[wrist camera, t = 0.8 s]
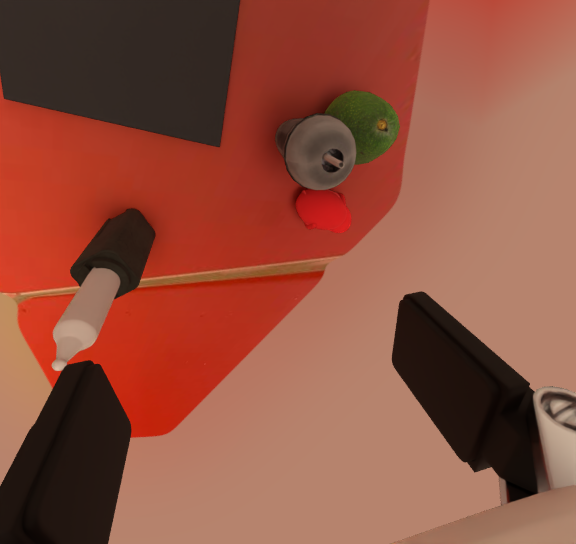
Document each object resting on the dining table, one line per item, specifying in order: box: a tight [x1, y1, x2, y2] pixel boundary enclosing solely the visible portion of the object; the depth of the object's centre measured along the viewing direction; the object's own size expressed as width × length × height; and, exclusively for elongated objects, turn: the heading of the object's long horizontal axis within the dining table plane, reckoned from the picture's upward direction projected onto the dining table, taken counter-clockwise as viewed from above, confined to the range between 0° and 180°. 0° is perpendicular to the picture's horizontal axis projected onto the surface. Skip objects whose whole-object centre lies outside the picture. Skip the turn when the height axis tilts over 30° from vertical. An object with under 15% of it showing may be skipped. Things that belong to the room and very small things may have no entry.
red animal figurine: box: [296, 189, 351, 233], centre depth 44 cm, size 8×6×6 cm
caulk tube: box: [52, 209, 155, 371], centre depth 31 cm, size 5×5×25 cm
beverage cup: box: [275, 113, 356, 190], centre depth 33 cm, size 7×7×20 cm
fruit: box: [324, 90, 400, 165], centre depth 36 cm, size 8×8×12 cm
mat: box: [0, 0, 240, 147], centre depth 31 cm, size 22×22×1 cm
